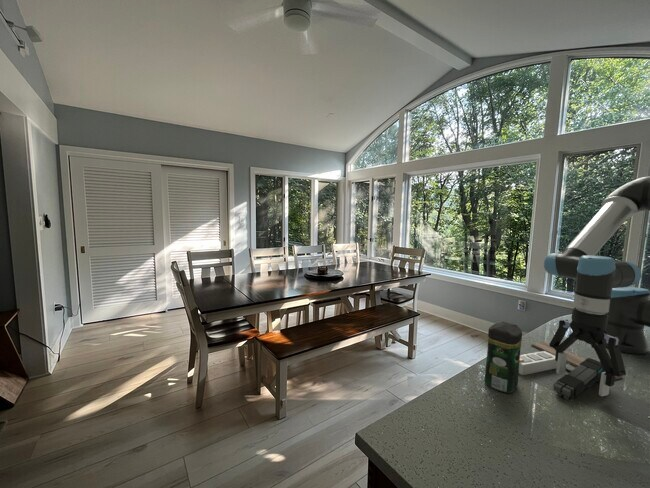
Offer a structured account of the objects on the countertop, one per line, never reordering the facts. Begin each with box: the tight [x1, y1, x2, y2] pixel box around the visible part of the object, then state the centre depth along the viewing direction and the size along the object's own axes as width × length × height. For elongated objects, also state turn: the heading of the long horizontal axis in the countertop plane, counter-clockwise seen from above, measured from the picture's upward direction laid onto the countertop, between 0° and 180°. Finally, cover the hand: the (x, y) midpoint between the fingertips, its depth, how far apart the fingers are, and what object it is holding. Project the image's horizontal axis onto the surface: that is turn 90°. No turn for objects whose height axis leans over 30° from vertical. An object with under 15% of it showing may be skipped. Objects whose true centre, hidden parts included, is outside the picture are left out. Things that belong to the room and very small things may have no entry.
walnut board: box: [531, 341, 623, 380], centre depth 101 cm, size 7×24×1 cm, turn 17°
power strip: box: [518, 350, 574, 376], centre depth 92 cm, size 18×12×4 cm, turn 107°
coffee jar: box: [483, 321, 523, 394], centre depth 85 cm, size 10×8×19 cm
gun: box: [553, 357, 605, 401], centre depth 84 cm, size 4×20×10 cm, turn 116°
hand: (580, 383), depth 84 cm, fingers open, 10 cm apart
